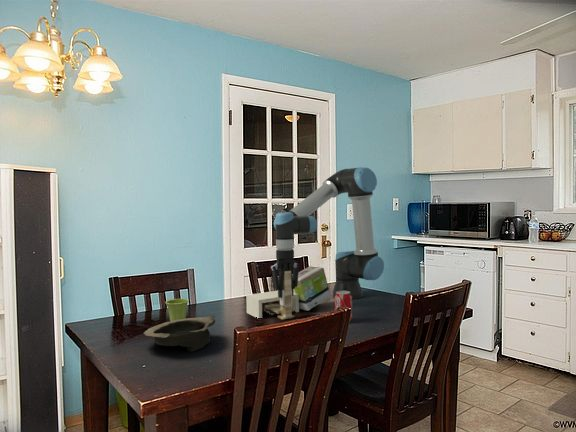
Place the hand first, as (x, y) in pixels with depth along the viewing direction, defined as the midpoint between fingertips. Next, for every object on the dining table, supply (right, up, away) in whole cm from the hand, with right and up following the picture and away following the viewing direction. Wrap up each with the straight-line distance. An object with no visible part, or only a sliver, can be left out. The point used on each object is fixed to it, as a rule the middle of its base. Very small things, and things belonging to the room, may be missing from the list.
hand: (286, 304), depth 187 cm
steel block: (-5, -6, +9) cm, 12 cm away
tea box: (+12, -2, +17) cm, 21 cm away
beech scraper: (-3, -5, +6) cm, 8 cm away
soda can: (+24, -6, -6) cm, 25 cm away
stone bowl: (-37, -8, -31) cm, 49 cm away
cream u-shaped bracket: (-6, -6, +10) cm, 13 cm away
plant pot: (-45, -7, -2) cm, 46 cm away
